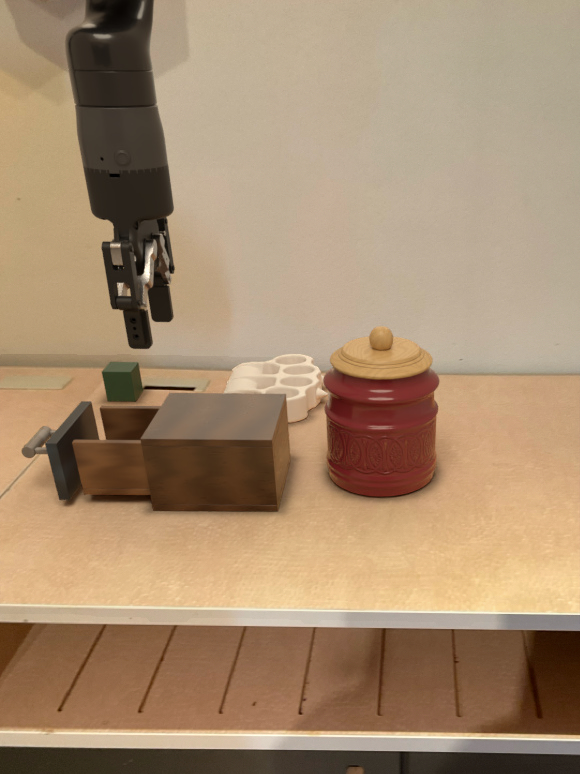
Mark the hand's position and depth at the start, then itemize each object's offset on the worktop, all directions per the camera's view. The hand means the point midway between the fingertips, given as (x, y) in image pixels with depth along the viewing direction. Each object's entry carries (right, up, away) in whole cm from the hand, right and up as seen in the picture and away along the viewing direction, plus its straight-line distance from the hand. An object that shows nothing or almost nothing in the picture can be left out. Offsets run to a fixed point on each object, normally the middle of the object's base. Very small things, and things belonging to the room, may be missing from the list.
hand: (152, 334), depth 81 cm
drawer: (-8, -14, +10) cm, 19 cm away
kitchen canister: (+23, -13, +13) cm, 30 cm away
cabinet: (+5, -15, +10) cm, 19 cm away
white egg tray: (+8, -1, +32) cm, 33 cm away
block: (-14, -1, +32) cm, 35 cm away
